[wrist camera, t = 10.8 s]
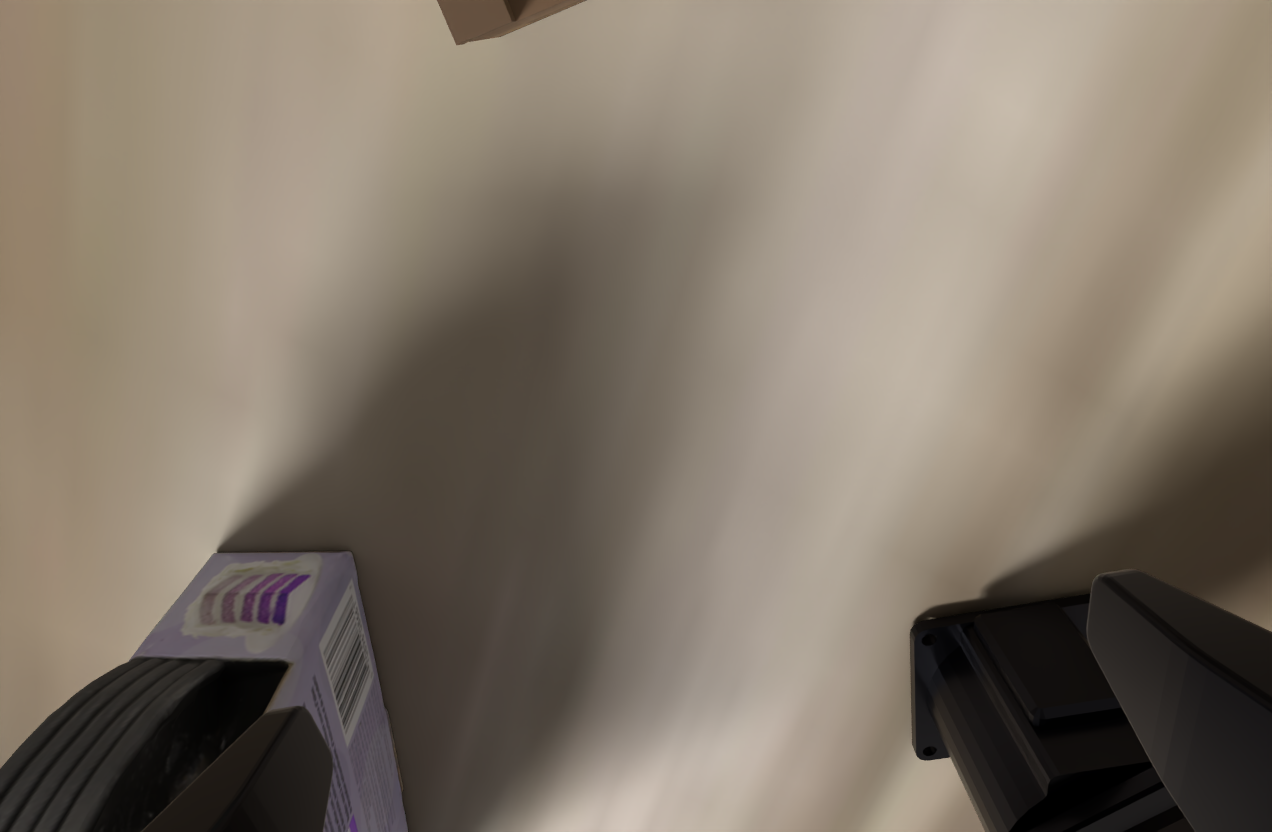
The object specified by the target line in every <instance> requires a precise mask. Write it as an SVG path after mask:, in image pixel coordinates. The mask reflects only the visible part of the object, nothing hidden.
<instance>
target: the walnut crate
mask: <svg viewBox="0 0 1272 832" xmlns="http://www.w3.org/2000/svg"><path fill="white" fill-rule="evenodd" d="M437 1H438V3H439V6H440V8H441V10H442V13H443V15H444V17H445V20H446V22H447V24H448V27H449V29H450V31H451V33H452V36H453V38H454V40H455V43H456V45H461V44H465V43H467V42H471V41H477V40H483V39H490V38H496V37H501V36H503V35H506V34H508V33H510V32H513V31H515V30H517V29H520V28H522V27H524V26H527V25H529V24H532V23H534V22H536V21H539V20H541V19H543V18H546V17H548V16H550V15H553V14H555V13H557V12H560V11H562V10H564V9H567V8H569V7H572V6H574V5H576V4H579V3H581V2H583V1H586V0H437Z"/></svg>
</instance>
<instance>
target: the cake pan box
mask: <svg viewBox="0 0 1272 832" xmlns="http://www.w3.org/2000/svg"><path fill="white" fill-rule="evenodd" d="M291 706H303V707H305V708H306V709H308V710H309V712H310V713H311V715H312V717H313V719H314V721H315V722H316V724H317V726H318V728H319V730H320V732H321V734H322V735H323V737H324V739H325V741H326V743H327V745H328V746H329V748H330V751H331V754H332V758H333V776H332V782H331V788H330V795H329V801H328V807H327V813H326V819H325V825H324V831H323V832H408V828H407V823H406V817H405V812H404V807H403V803H402V794H401V792H402V791H403V784H402V780H401V775H400V769H399V764H398V759H397V754H396V749H395V743H394V739H393V733H392V728H391V723H390V718H389V714H388V710H387V709H386V708H385V707H384V704H383V698H382V692H381V687H380V683H379V678H378V673H377V668H376V663H375V658H374V654H373V649H372V645H371V640H370V636H369V631H368V627H367V622H366V618H365V613H364V608H363V604H362V600H361V595H360V591H359V587H358V575H357V570H356V566H355V562H354V558H353V555H352V553H351V552H350V551H312V552H227V553H214V554H213V555H212V556H211V557H210V558H209V560H208V561H207V562H206V564H205V565H204V566H203V568H202V569H201V570H200V571H199V572H198V574H197V575H196V576H195V578H194V579H193V580H192V582H191V583H190V584H189V585H188V587H187V588H186V589H185V590H184V592H183V593H182V594H181V595H180V597H179V598H178V599H177V600H176V602H175V603H174V604H173V605H172V606H171V608H170V609H169V610H168V611H167V613H166V614H165V615H164V616H163V617H162V619H161V620H160V621H159V622H158V624H157V625H156V626H155V627H154V629H153V630H152V631H151V632H150V634H149V635H148V636H147V637H146V639H145V640H144V642H143V643H142V644H141V646H140V647H139V648H138V650H137V651H136V652H135V654H134V655H133V656H132V658H131V659H130V660H129V662H127V663H125V664H122V665H120V666H118V667H116V668H115V669H113V670H111V671H109V672H108V673H106V674H104V675H103V676H101V677H99V678H98V679H96V680H94V681H93V682H91V683H90V684H88V685H87V686H86V687H84V688H83V689H82V690H80V691H79V692H78V693H76V694H75V695H74V696H72V697H71V698H70V699H69V700H68V701H67V702H66V703H65V704H64V705H62V706H61V707H60V708H59V709H57V710H56V711H55V712H53V713H52V714H51V715H50V716H49V717H48V718H47V719H46V720H45V721H44V722H43V723H42V724H41V725H40V726H39V727H38V728H37V729H36V730H35V731H34V732H33V733H32V734H31V735H30V736H29V737H28V738H27V739H26V740H25V741H24V743H23V744H22V745H21V746H20V747H19V748H18V749H17V750H16V751H15V752H14V754H13V755H12V756H11V757H10V758H9V759H8V761H7V762H6V763H5V764H4V765H3V766H2V768H1V769H0V832H141V831H142V830H143V829H144V828H145V827H146V826H147V825H148V824H149V823H151V822H152V821H153V820H154V819H155V818H156V817H157V816H158V815H159V814H160V813H161V812H162V811H163V810H164V809H165V808H166V807H167V806H168V805H169V804H170V803H171V802H172V801H173V800H174V799H175V798H177V797H178V796H179V795H180V794H181V793H182V792H183V791H184V790H185V789H186V788H187V787H188V786H189V785H190V784H191V783H192V782H193V781H194V780H195V779H196V778H197V777H198V776H199V775H200V774H201V773H203V772H204V771H205V770H206V769H207V768H208V767H209V766H210V765H211V764H212V763H213V762H214V761H215V760H216V759H217V758H218V757H219V756H220V755H221V754H222V753H223V752H224V751H225V750H226V749H227V748H229V747H230V746H231V745H232V744H233V743H234V742H235V741H236V740H237V739H238V738H239V737H240V736H241V735H242V734H243V733H244V732H245V731H246V730H247V729H248V728H249V727H250V726H251V725H252V724H253V723H255V722H256V721H257V720H258V719H259V718H260V717H261V716H262V715H263V714H264V713H266V712H268V711H270V710H273V709H279V708H285V707H291Z"/></svg>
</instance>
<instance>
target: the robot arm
mask: <svg viewBox="0 0 1272 832" xmlns="http://www.w3.org/2000/svg"><path fill="white" fill-rule="evenodd" d="M929 634H930V635H929ZM926 635H929V636H927V637H924V636H926ZM910 666H911V713H912V745H913V748H914V750H915V753H916V755H917V757H918V758H919V759H921V760H935V759H942V758H948V757H951V760H952V762H953V764H954V766H955V768H956V770H957V772H958V775H959V777H960V779H961V781H962V783H963V785H964V787H965V789H966V792H967V794H968V796H969V798H970V800H971V802H972V804H973V807H974V809H975V811H976V813H977V815H978V817H979V819H980V821H981V824H982V826H983V828H984V830H985V832H1272V632H1271V631H1269V630H1266V629H1264V628H1262V627H1260V626H1258V625H1256V624H1254V623H1252V622H1249V621H1247V620H1245V619H1243V618H1241V617H1239V616H1237V615H1234V614H1232V613H1230V612H1228V611H1226V610H1224V609H1222V608H1220V607H1217V606H1215V605H1213V604H1211V603H1209V602H1207V601H1205V600H1203V599H1200V598H1198V597H1196V596H1194V595H1192V594H1190V593H1188V592H1186V591H1183V590H1181V589H1179V588H1177V587H1175V586H1173V585H1171V584H1169V583H1166V582H1164V581H1162V580H1160V579H1158V578H1156V577H1154V576H1152V575H1149V574H1147V573H1145V572H1143V571H1140V570H1137V569H1125V570H1119V571H1113V572H1107V573H1101V574H1099V575H1097V576H1096V577H1095V578H1094V580H1093V582H1092V586H1091V594H1085V595H1079V596H1073V597H1067V598H1060V599H1054V600H1048V601H1042V602H1036V603H1029V604H1023V605H1017V606H1011V607H1005V608H999V609H992V610H986V611H980V612H974V613H968V614H961V615H955V616H949V617H943V618H937V619H930V620H924V621H921V622H918V623H917V624H915V625H914V626H913V627H912V629H911V631H910ZM332 776H333V758H332V754H331V751H330V748H329V746H328V745H327V743H326V741H325V739H324V737H323V735H322V734H321V732H320V730H319V728H318V726H317V724H316V722H315V721H314V719H313V717H312V715H311V713H310V712H309V710H308V709H306V708H305V707H303V706H291V707H285V708H279V709H273V710H270V711H268V712H266V713H264V714H263V715H262V716H261V717H260V718H259V719H258V720H257V721H256V722H255V723H253V724H252V725H251V726H250V727H249V728H248V729H247V730H246V731H245V732H244V733H243V734H242V735H241V736H240V737H239V738H238V739H237V740H236V741H235V742H234V743H233V744H232V745H231V746H230V747H229V748H227V749H226V750H225V751H224V752H223V753H222V754H221V755H220V756H219V757H218V758H217V759H216V760H215V761H214V762H213V763H212V764H211V765H210V766H209V767H208V768H207V769H206V770H205V771H204V772H203V773H201V774H200V775H199V776H198V777H197V778H196V779H195V780H194V781H193V782H192V783H191V784H190V785H189V786H188V787H187V788H186V789H185V790H184V791H183V792H182V793H181V794H180V795H179V796H178V797H177V798H175V799H174V800H173V801H172V802H171V803H170V804H169V805H168V806H167V807H166V808H165V809H164V810H163V811H162V812H161V813H160V814H159V815H158V816H157V817H156V818H155V819H154V820H153V821H152V822H151V823H149V824H148V825H147V826H146V827H145V828H144V829H143V830H142V831H141V832H323V831H324V825H325V819H326V813H327V807H328V801H329V795H330V788H331V782H332Z"/></svg>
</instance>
